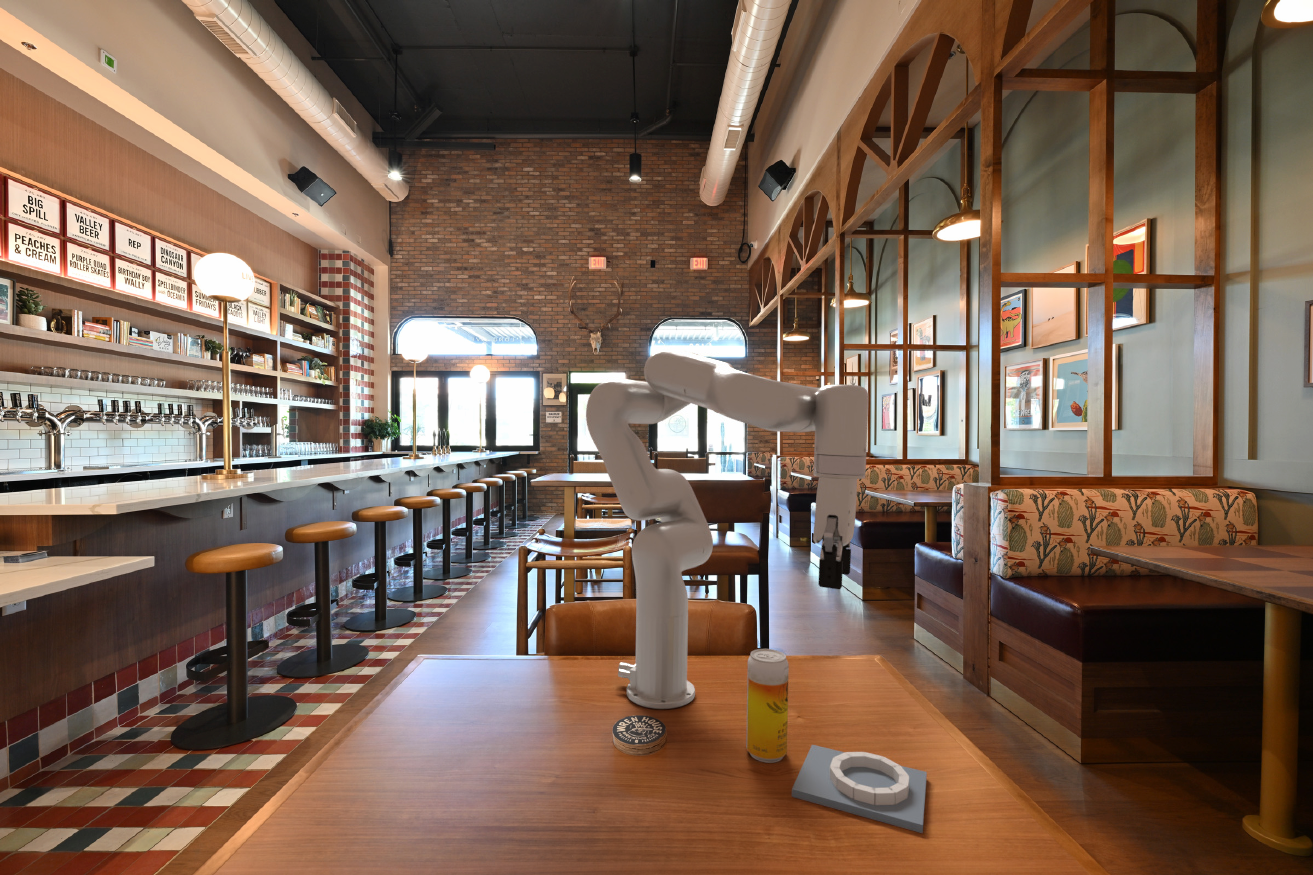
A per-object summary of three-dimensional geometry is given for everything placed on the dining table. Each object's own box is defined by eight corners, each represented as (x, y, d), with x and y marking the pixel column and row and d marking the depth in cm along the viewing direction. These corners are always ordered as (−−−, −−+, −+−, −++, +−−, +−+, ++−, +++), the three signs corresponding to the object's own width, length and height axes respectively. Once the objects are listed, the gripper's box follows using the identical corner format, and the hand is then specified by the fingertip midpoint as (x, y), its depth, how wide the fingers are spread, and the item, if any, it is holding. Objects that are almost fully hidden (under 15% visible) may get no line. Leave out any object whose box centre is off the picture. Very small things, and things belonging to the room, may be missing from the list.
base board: (791, 796, 81) (792, 777, 81) (812, 750, 92) (812, 734, 92) (922, 833, 74) (922, 812, 74) (926, 778, 85) (926, 761, 85)
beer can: (787, 766, 88) (789, 664, 88) (744, 761, 89) (746, 660, 89) (786, 745, 94) (788, 649, 94) (747, 741, 95) (748, 646, 95)
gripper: (823, 463, 100) (819, 565, 101) (803, 468, 85) (798, 590, 85) (870, 465, 97) (866, 571, 98) (859, 472, 82) (854, 598, 82)
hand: (834, 580), depth 91 cm, fingers open, 9 cm apart
